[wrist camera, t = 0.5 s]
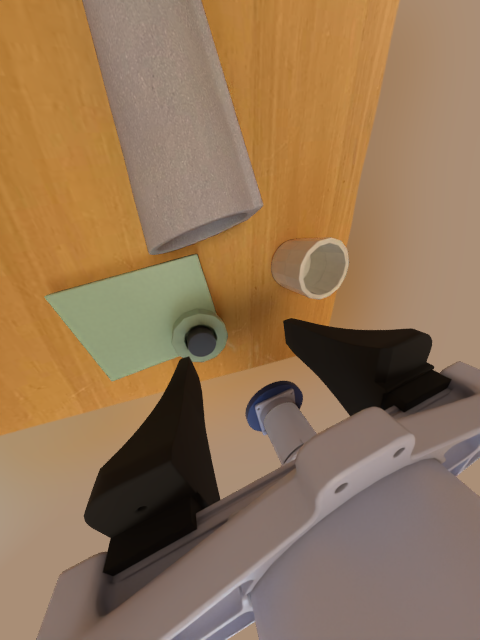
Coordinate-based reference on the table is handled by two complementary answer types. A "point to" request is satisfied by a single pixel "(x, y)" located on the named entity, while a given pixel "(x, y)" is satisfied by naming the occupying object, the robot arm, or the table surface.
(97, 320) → the scale
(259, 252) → the table surface
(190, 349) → the button
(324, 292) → the cup
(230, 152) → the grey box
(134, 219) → the table surface
